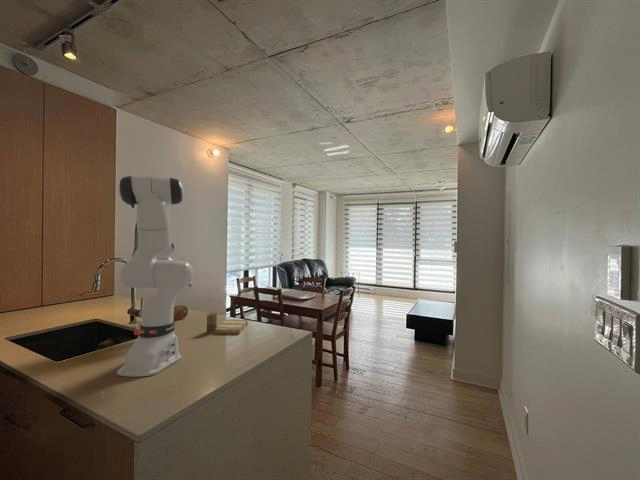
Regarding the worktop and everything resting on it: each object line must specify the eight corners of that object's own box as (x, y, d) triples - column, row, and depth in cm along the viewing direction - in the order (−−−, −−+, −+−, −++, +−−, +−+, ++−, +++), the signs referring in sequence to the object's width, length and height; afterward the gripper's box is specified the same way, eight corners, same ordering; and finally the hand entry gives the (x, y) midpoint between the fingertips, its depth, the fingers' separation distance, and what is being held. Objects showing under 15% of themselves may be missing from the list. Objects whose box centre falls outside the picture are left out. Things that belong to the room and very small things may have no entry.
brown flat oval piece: (161, 324, 160) (161, 308, 160) (159, 323, 162) (159, 308, 162) (188, 318, 172) (188, 304, 172) (185, 317, 174) (185, 303, 174)
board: (239, 334, 145) (239, 329, 145) (215, 333, 145) (215, 328, 145) (247, 324, 161) (247, 320, 161) (226, 324, 161) (226, 319, 161)
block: (213, 333, 146) (214, 315, 146) (206, 332, 146) (206, 315, 146) (216, 330, 150) (216, 313, 149) (209, 330, 150) (209, 313, 150)
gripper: (161, 266, 137) (182, 287, 137) (182, 262, 158) (200, 280, 158) (152, 276, 137) (173, 296, 138) (174, 270, 158) (192, 288, 158)
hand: (187, 288), depth 148 cm, fingers open, 8 cm apart
